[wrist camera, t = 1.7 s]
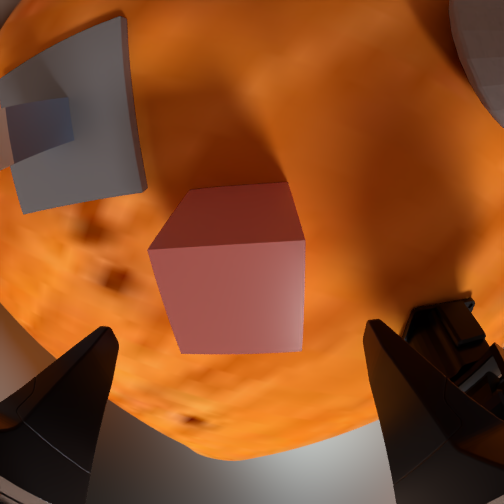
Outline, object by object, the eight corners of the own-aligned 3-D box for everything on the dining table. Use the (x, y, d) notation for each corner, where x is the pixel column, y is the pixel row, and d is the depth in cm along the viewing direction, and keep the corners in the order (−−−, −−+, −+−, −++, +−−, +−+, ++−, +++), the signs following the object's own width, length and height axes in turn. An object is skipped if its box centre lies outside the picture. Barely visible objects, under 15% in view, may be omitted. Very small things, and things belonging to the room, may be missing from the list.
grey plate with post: (147, 187, 15) (83, 249, 9) (29, 210, 16) (-36, 260, 10) (126, 19, 10) (47, -13, 4) (6, 78, 11) (-71, 94, 5)
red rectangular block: (290, 266, 17) (301, 351, 12) (204, 271, 18) (181, 353, 12) (287, 182, 15) (305, 240, 9) (189, 189, 15) (147, 249, 9)
